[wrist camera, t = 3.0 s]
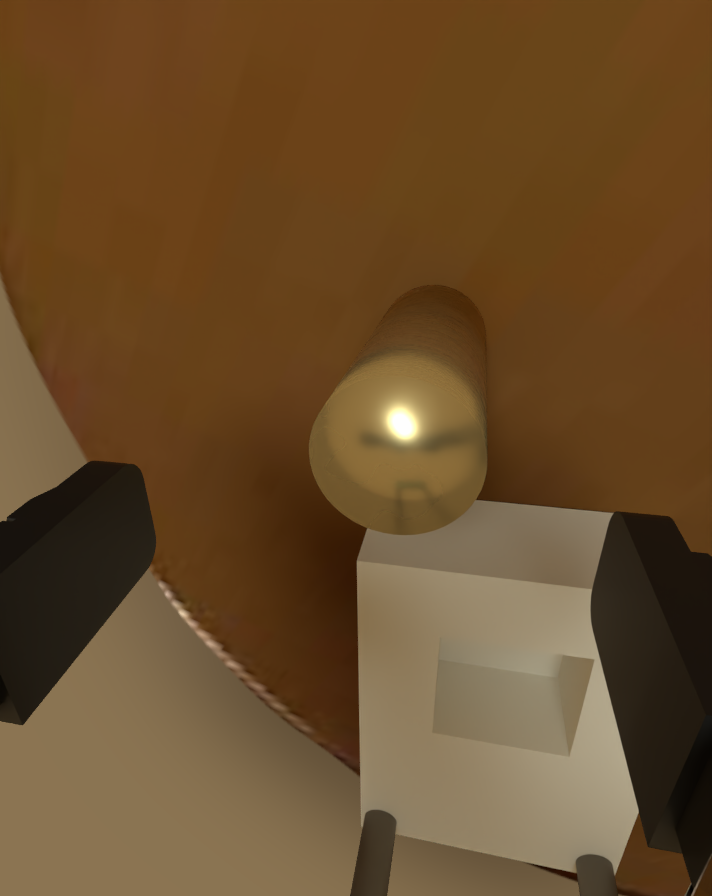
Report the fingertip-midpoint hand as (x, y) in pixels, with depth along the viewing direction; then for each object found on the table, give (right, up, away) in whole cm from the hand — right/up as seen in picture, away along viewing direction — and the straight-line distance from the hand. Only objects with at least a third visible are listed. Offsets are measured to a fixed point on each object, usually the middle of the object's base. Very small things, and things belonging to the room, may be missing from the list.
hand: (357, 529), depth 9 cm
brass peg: (+3, +6, +12) cm, 13 cm away
